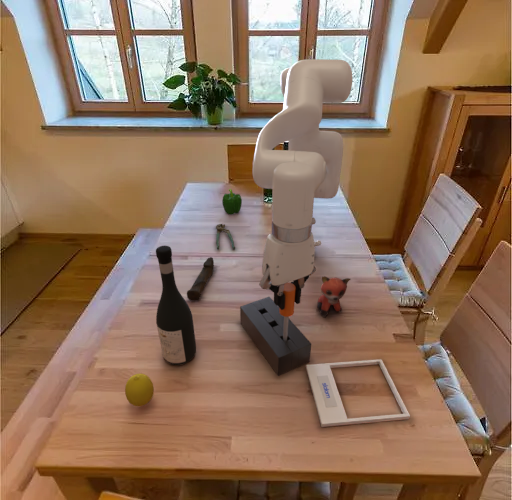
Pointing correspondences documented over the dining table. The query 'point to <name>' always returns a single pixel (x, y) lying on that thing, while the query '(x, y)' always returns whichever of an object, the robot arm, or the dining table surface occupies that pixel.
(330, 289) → the stuffed fox
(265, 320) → the rack
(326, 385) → the photo frame
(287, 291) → the orange tool handle
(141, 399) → the lemon
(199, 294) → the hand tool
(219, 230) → the pliers
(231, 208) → the bell pepper
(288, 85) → the robot arm
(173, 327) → the wine bottle
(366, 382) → the dining table surface
